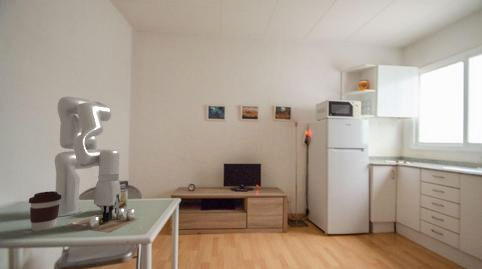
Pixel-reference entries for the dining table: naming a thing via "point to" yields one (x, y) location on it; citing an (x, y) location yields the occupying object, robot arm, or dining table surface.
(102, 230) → the board
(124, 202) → the coffee box
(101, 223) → the nut
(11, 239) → the dining table surface
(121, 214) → the spacer
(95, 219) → the spacer
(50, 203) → the coffee cup
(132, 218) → the spacer
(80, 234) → the dining table surface
